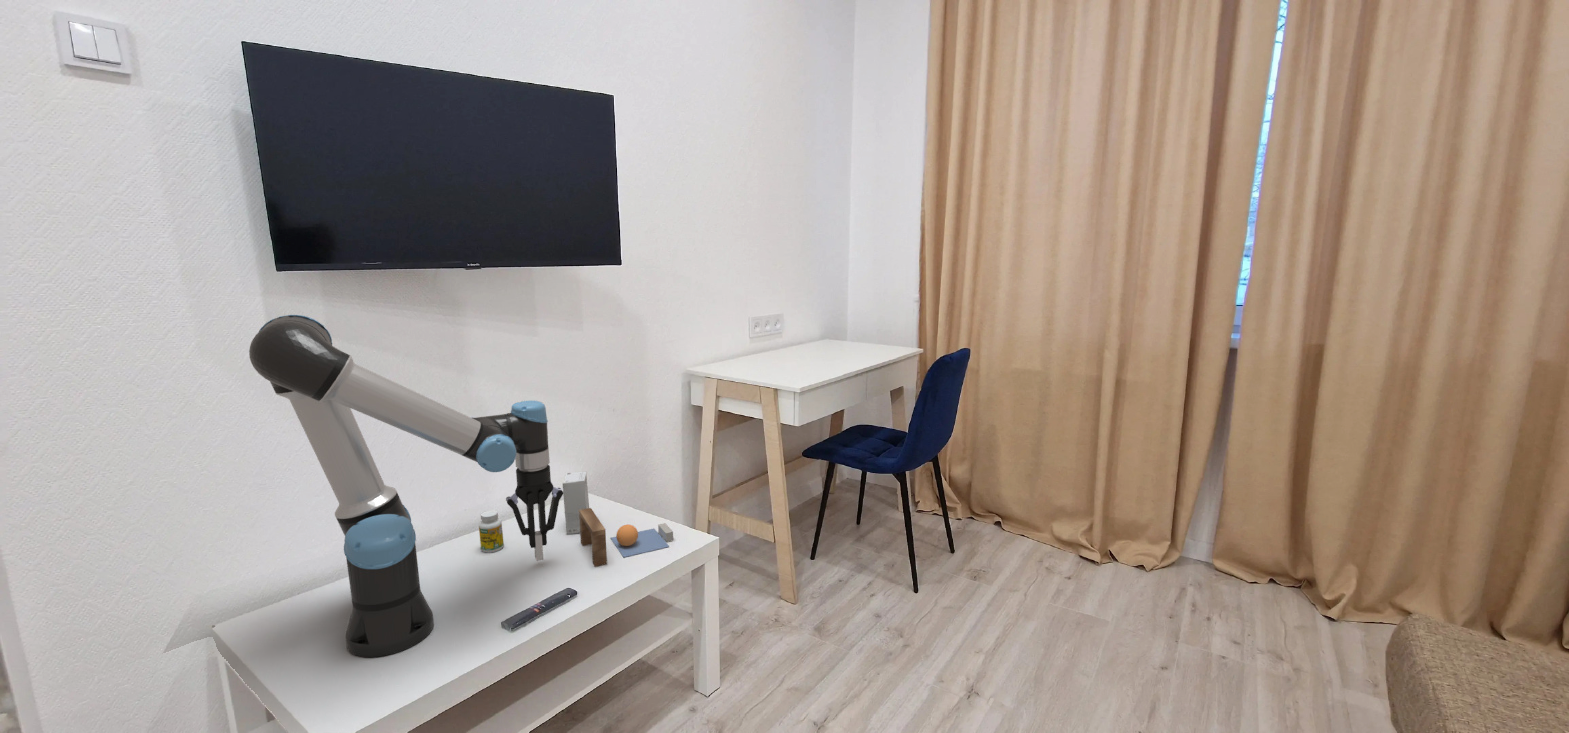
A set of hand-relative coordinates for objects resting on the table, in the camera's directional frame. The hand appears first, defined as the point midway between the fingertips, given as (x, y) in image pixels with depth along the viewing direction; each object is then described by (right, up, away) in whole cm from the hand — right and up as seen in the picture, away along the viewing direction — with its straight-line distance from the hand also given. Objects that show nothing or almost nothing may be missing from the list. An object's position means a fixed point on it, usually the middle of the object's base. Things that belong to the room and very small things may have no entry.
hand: (539, 558), depth 160 cm
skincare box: (+3, +2, +21) cm, 22 cm away
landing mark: (+22, 0, +13) cm, 25 cm away
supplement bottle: (-15, 0, +9) cm, 18 cm away
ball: (+19, +3, +11) cm, 22 cm away
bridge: (+11, -1, +7) cm, 13 cm away
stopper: (+28, +1, +16) cm, 32 cm away
